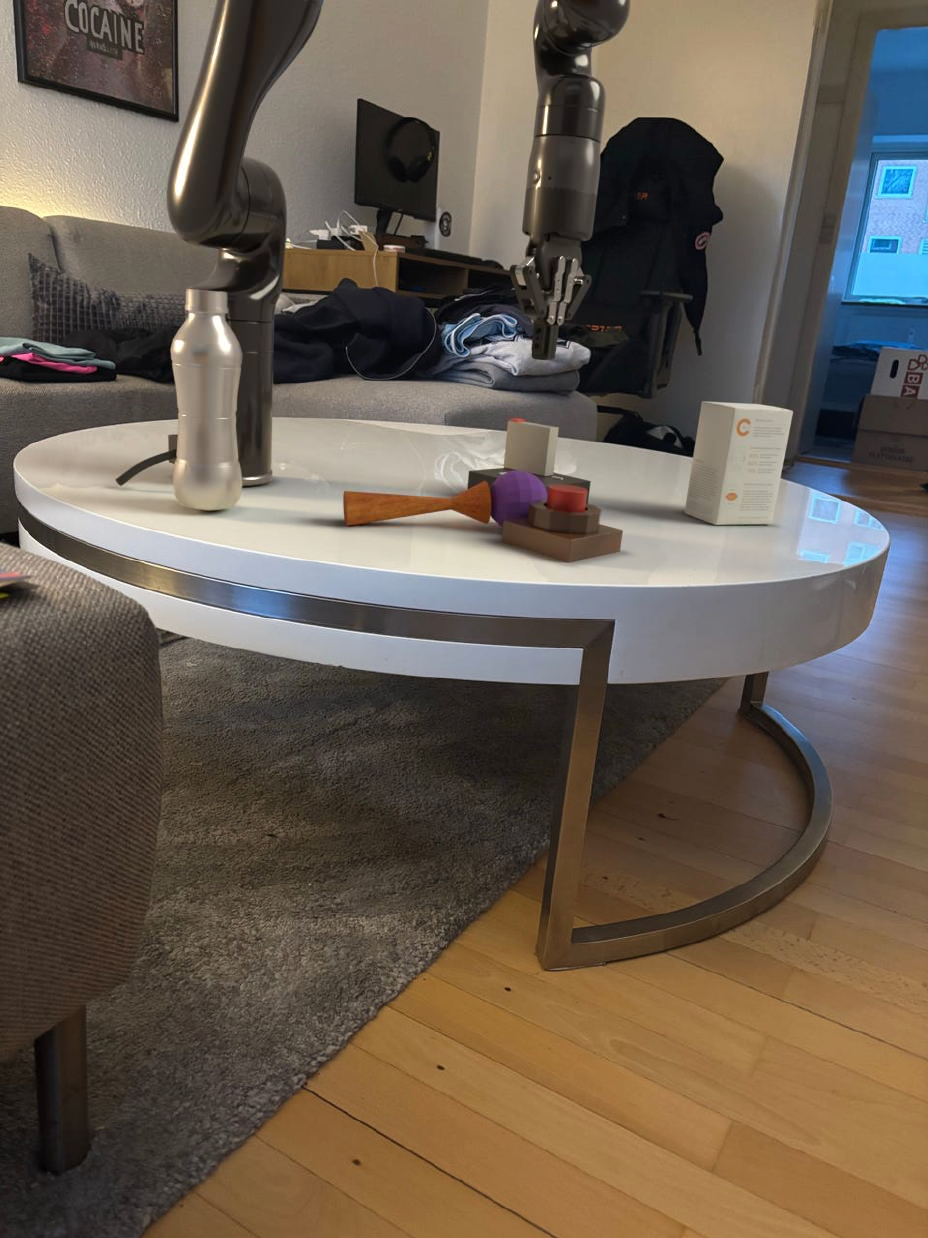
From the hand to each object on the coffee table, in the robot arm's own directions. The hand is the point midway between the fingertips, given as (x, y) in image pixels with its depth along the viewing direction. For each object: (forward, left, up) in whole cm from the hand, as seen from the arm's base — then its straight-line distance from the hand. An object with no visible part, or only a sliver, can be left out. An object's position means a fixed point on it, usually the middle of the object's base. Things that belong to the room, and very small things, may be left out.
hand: (542, 359), depth 102 cm
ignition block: (-15, -17, -16) cm, 27 cm away
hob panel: (0, 0, -16) cm, 16 cm away
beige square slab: (+1, +1, -13) cm, 13 cm away
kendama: (-19, -6, -16) cm, 26 cm away
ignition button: (-15, -17, -12) cm, 25 cm away
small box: (+15, -18, -16) cm, 28 cm away
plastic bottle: (-36, +10, -16) cm, 41 cm away
